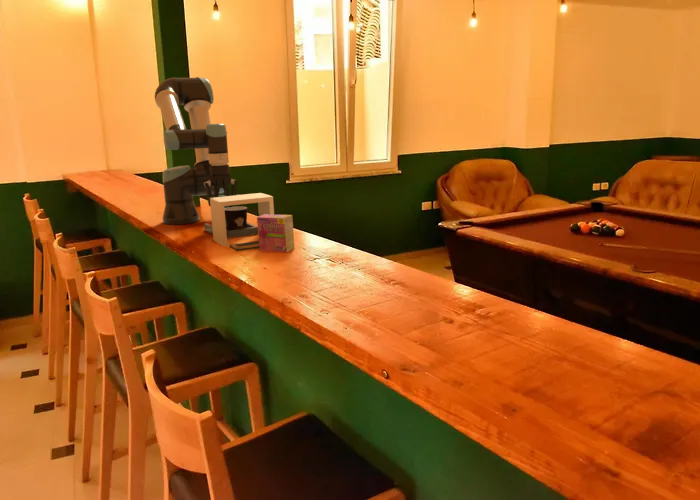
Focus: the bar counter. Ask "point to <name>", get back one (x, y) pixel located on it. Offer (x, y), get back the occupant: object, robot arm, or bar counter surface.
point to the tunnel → (219, 202)
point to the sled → (248, 230)
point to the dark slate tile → (245, 246)
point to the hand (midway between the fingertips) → (224, 223)
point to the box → (275, 232)
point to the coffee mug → (236, 217)
